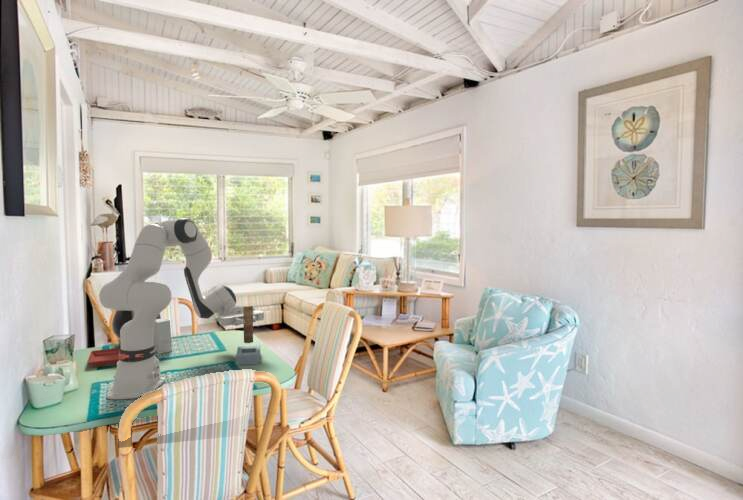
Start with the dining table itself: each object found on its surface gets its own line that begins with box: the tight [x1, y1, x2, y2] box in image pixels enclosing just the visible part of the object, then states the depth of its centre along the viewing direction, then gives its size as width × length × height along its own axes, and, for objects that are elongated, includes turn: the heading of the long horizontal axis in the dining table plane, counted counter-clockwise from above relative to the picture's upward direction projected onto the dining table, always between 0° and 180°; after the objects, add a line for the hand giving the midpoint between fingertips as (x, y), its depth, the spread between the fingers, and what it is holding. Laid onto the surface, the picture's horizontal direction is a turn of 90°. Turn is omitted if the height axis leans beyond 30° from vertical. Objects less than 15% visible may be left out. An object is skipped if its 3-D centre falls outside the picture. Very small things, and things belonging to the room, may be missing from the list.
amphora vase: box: [111, 310, 161, 347], centre depth 222 cm, size 22×22×28 cm
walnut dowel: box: [242, 305, 254, 344], centre depth 201 cm, size 4×4×16 cm
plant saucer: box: [86, 347, 121, 368], centre depth 199 cm, size 18×18×3 cm
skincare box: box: [153, 317, 173, 354], centre depth 213 cm, size 8×6×15 cm
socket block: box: [235, 345, 261, 366], centre depth 202 cm, size 14×10×4 cm
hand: (249, 321), depth 200 cm, fingers closed on walnut dowel, 4 cm apart
